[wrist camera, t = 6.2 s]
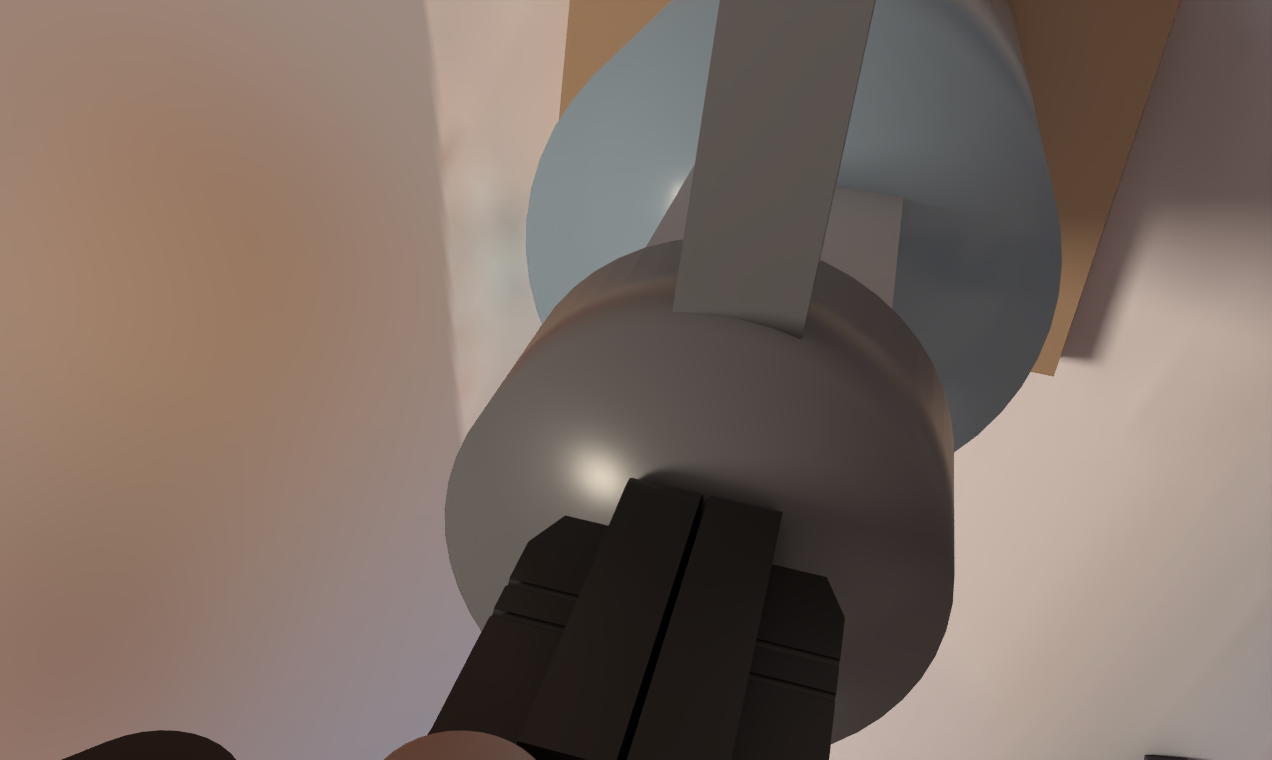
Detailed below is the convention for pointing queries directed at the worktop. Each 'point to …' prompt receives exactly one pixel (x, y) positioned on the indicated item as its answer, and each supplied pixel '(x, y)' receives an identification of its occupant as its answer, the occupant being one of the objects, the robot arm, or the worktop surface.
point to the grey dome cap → (741, 372)
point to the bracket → (1161, 758)
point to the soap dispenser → (881, 164)
